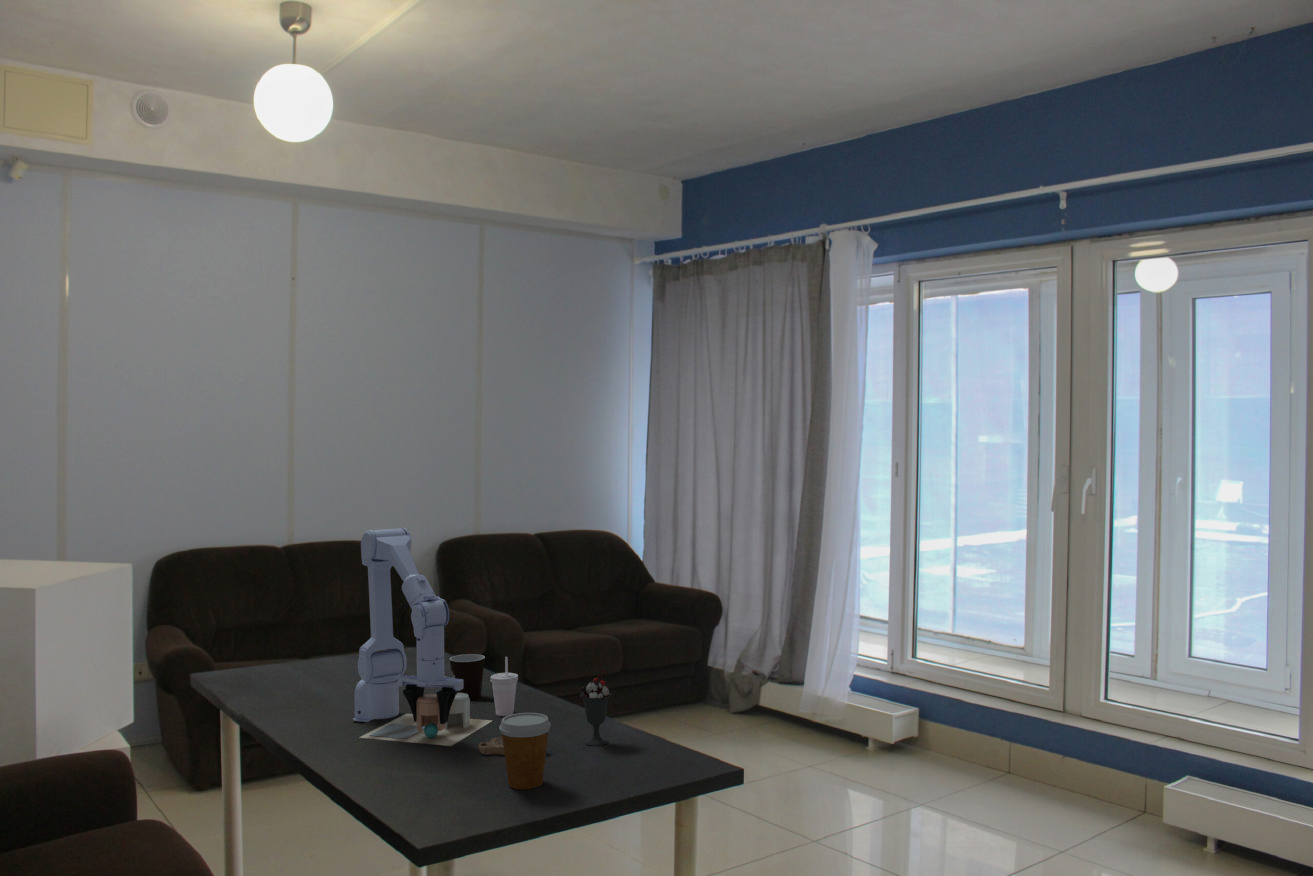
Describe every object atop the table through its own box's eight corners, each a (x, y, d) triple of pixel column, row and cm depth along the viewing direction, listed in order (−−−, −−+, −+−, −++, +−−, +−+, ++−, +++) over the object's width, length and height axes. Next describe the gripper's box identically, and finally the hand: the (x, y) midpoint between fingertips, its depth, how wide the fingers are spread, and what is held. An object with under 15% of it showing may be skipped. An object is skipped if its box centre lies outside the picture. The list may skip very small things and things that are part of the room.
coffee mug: (481, 702, 239) (481, 661, 239) (446, 702, 240) (446, 662, 240) (490, 690, 251) (490, 651, 251) (457, 690, 251) (456, 651, 251)
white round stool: (438, 728, 214) (438, 698, 214) (450, 721, 220) (450, 692, 220) (461, 730, 213) (461, 700, 213) (473, 723, 218) (473, 693, 218)
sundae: (616, 739, 209) (616, 668, 209) (605, 748, 202) (604, 676, 202) (588, 736, 211) (587, 666, 211) (575, 745, 205) (574, 673, 205)
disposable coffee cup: (501, 776, 186) (501, 712, 186) (551, 774, 187) (551, 711, 187) (497, 794, 177) (497, 727, 177) (550, 791, 178) (550, 725, 178)
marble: (421, 739, 207) (421, 724, 207) (428, 735, 210) (428, 721, 210) (433, 740, 206) (433, 725, 206) (441, 736, 209) (440, 722, 209)
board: (358, 742, 208) (358, 736, 208) (406, 718, 227) (406, 713, 227) (451, 750, 202) (451, 745, 202) (492, 725, 220) (492, 719, 220)
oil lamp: (480, 764, 194) (479, 738, 194) (476, 752, 201) (476, 728, 201) (545, 758, 197) (545, 733, 197) (540, 746, 204) (540, 723, 205)
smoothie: (513, 722, 222) (512, 660, 222) (486, 721, 223) (485, 659, 224) (522, 714, 228) (521, 654, 229) (496, 713, 230) (495, 653, 230)
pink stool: (412, 731, 206) (412, 699, 206) (426, 723, 211) (425, 693, 211) (436, 733, 204) (435, 701, 204) (449, 725, 210) (449, 695, 210)
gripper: (390, 659, 206) (390, 724, 206) (451, 663, 202) (452, 729, 202) (407, 652, 213) (408, 715, 213) (468, 656, 209) (468, 720, 209)
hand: (430, 721), depth 208 cm, fingers closed on pink stool, 6 cm apart
